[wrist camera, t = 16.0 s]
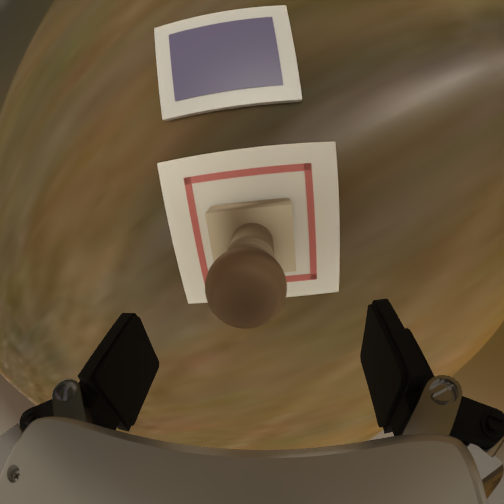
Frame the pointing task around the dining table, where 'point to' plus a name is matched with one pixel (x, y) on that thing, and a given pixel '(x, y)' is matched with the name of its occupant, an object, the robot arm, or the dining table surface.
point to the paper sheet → (254, 189)
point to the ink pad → (226, 62)
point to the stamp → (249, 260)
